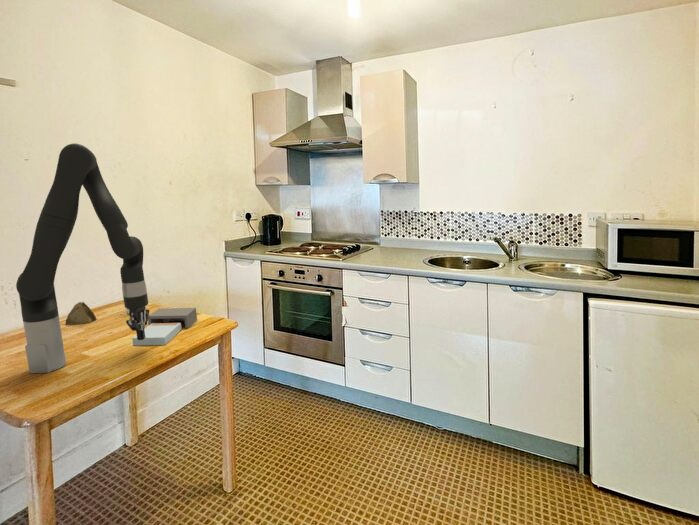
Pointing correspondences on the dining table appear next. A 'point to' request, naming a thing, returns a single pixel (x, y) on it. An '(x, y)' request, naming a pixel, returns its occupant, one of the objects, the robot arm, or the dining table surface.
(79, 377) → the dining table surface
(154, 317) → the low shelf
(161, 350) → the dining table surface
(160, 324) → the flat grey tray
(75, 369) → the dining table surface
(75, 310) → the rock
